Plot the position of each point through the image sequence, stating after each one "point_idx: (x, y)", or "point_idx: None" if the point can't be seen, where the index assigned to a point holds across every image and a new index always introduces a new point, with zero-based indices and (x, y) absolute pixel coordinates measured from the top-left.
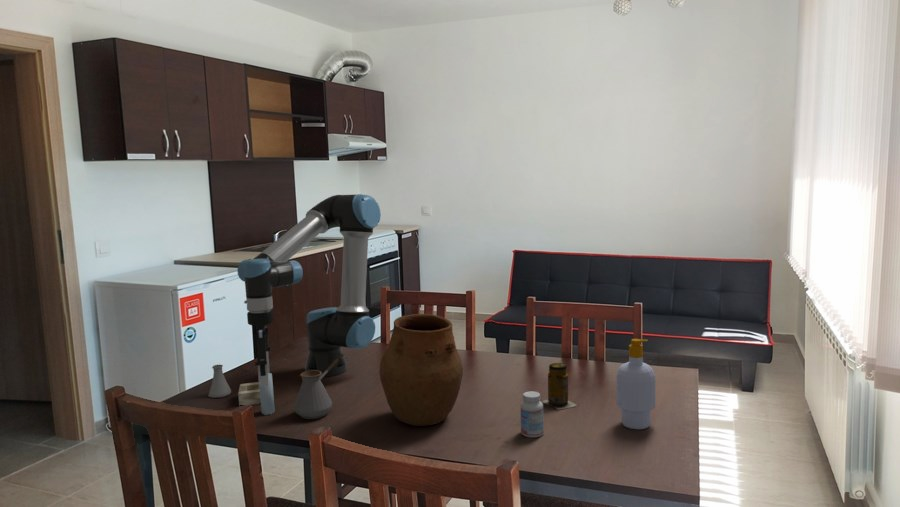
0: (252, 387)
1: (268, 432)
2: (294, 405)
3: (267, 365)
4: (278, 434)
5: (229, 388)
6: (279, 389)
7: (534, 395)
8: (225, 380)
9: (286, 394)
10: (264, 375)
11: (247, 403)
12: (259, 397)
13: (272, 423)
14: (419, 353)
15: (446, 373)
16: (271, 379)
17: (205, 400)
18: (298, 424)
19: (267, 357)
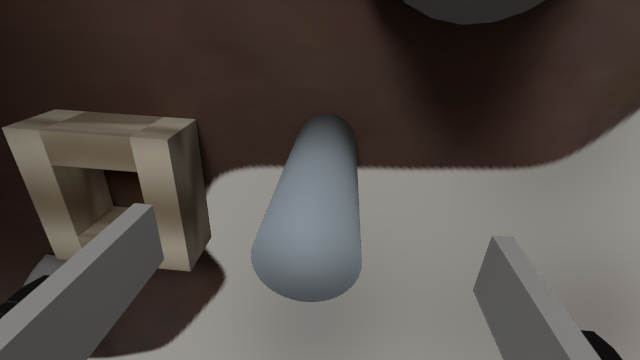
0: (79, 209)
1: (568, 154)
2: (471, 18)
3: (117, 251)
4: (627, 116)
5: (44, 269)
6: (15, 72)
7: None
8: None
9: (93, 41)
10: (591, 341)
11: (205, 215)
12: (190, 180)
13: (471, 132)
14: None
15: None
16: (335, 201)
17: (128, 318)
18: (572, 8)
19: (54, 311)
